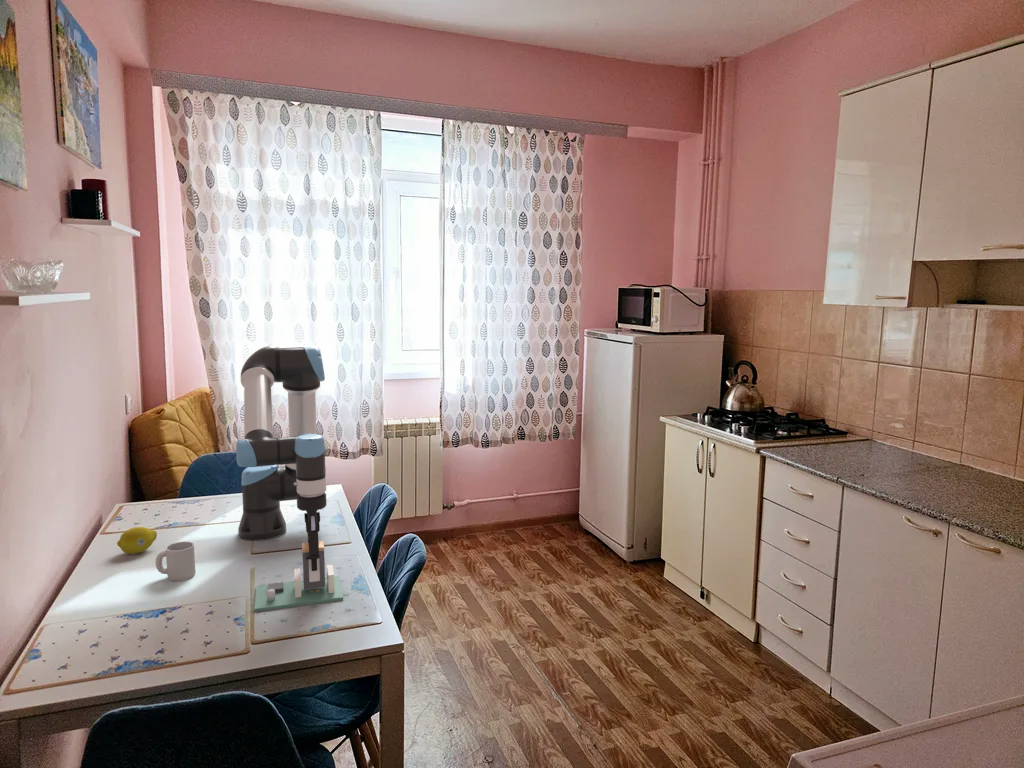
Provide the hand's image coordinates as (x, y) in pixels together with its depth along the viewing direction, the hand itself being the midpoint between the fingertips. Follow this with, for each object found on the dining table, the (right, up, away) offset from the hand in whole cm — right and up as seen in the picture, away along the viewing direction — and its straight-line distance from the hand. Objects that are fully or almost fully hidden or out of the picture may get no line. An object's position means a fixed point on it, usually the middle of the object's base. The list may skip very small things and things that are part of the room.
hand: (314, 576), depth 179 cm
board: (-4, -5, -1) cm, 6 cm away
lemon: (-63, -1, +27) cm, 68 cm away
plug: (0, -2, 0) cm, 2 cm away
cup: (-42, -3, +10) cm, 43 cm away
